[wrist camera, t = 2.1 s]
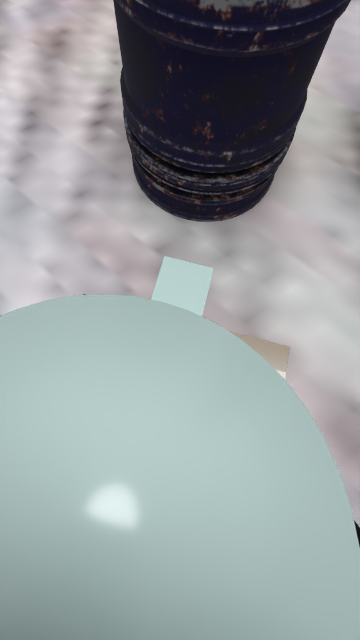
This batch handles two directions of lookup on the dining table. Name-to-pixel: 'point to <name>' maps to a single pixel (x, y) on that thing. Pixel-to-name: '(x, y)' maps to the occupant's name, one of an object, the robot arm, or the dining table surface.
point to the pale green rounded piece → (163, 480)
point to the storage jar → (216, 95)
